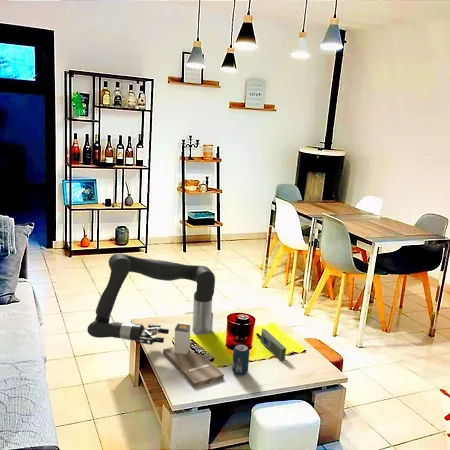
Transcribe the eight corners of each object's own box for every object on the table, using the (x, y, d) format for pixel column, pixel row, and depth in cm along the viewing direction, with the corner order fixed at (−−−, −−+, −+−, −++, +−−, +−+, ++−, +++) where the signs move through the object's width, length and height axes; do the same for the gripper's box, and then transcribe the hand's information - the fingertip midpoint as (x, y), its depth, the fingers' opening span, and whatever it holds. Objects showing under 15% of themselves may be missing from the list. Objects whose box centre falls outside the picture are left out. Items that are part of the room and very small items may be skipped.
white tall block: (176, 347, 217) (177, 323, 214) (189, 348, 216) (190, 324, 213) (174, 352, 212) (174, 328, 209) (187, 354, 211) (188, 330, 208)
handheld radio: (279, 362, 214) (253, 336, 236) (285, 361, 215) (259, 335, 237) (281, 349, 212) (255, 324, 234) (287, 348, 214) (261, 323, 235)
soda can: (244, 366, 208) (246, 342, 205) (250, 375, 202) (252, 350, 199) (229, 368, 206) (231, 344, 203) (235, 377, 199) (236, 352, 196)
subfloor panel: (190, 346, 222) (190, 342, 222) (223, 378, 198) (223, 374, 198) (163, 353, 215) (163, 348, 214) (194, 387, 191) (194, 382, 190)
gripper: (126, 331, 208) (162, 335, 206) (136, 317, 221) (170, 321, 219) (126, 346, 210) (161, 351, 208) (136, 332, 223) (169, 336, 221)
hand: (166, 335), depth 213 cm, fingers open, 8 cm apart
